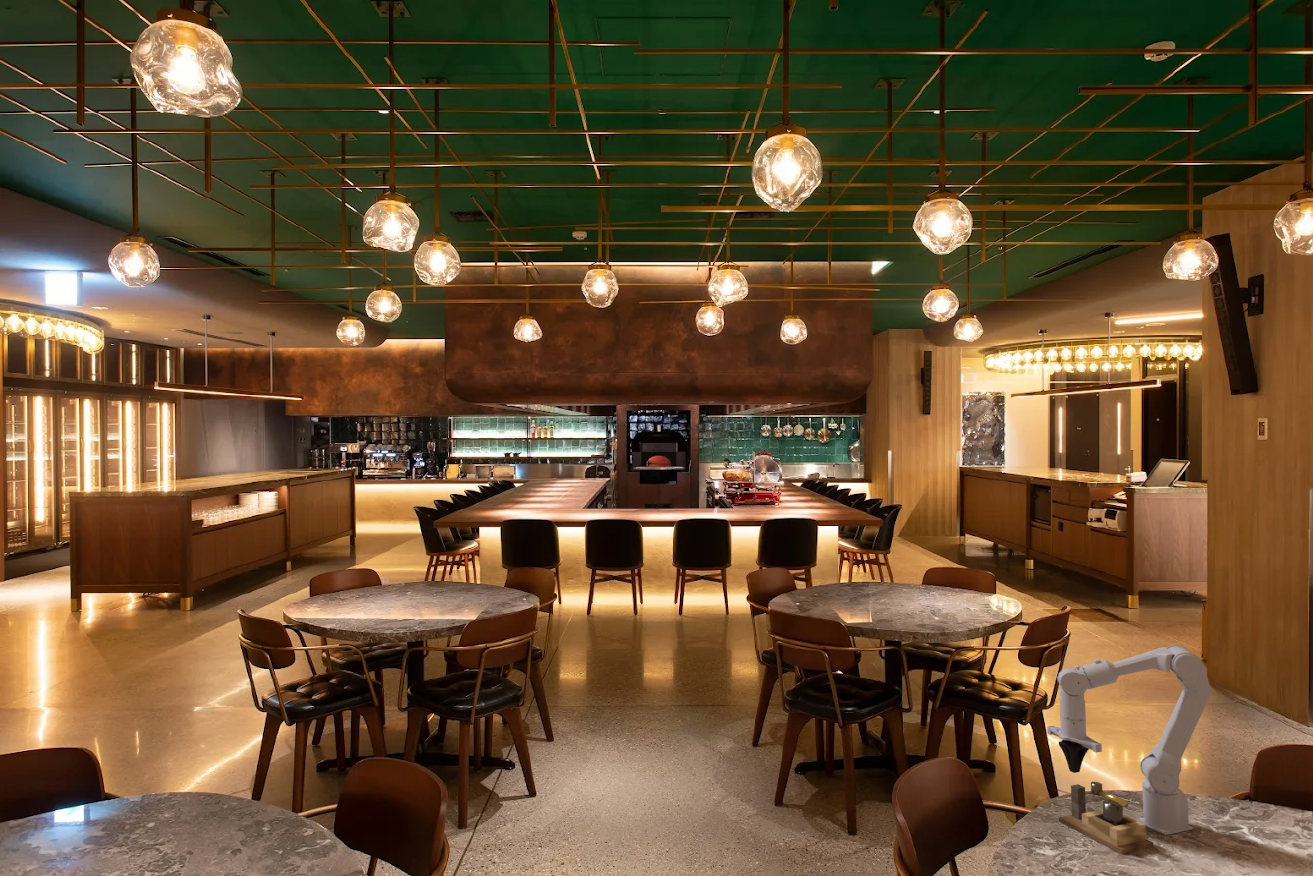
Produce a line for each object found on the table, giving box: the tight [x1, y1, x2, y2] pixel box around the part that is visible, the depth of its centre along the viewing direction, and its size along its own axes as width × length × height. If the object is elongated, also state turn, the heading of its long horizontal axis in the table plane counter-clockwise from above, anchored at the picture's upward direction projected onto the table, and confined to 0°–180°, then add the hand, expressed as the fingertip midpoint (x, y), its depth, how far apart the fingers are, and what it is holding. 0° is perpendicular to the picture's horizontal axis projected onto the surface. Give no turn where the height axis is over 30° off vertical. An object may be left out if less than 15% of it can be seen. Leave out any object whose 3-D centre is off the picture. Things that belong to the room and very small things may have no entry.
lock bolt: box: [1090, 781, 1129, 808], centre depth 176 cm, size 2×9×2 cm, turn 19°
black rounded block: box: [1102, 799, 1124, 826], centre depth 175 cm, size 4×4×7 cm
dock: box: [1058, 783, 1154, 855], centre depth 177 cm, size 10×17×8 cm, turn 19°
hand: (1074, 771), depth 189 cm, fingers closed
